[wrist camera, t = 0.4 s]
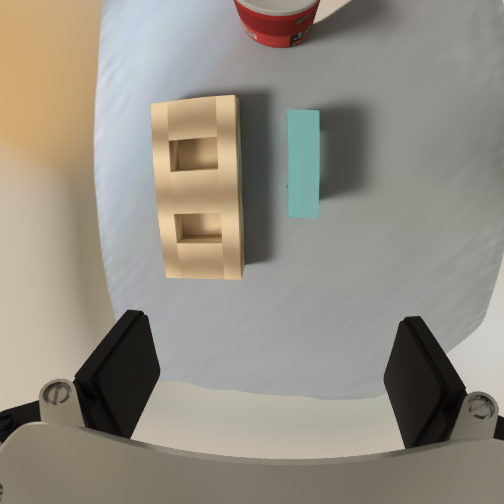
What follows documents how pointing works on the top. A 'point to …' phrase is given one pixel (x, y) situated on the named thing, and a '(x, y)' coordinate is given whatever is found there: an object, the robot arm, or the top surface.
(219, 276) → the tan slotted block
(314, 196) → the teal long block
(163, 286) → the top surface
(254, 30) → the canned food
